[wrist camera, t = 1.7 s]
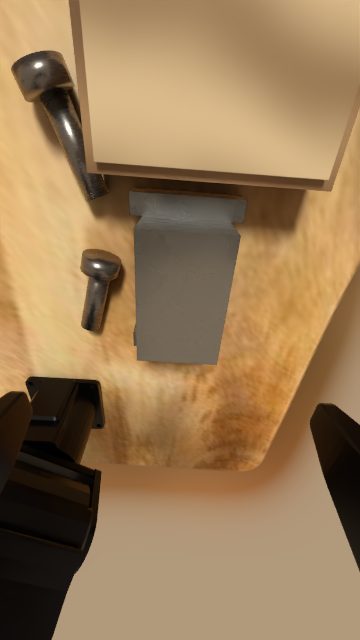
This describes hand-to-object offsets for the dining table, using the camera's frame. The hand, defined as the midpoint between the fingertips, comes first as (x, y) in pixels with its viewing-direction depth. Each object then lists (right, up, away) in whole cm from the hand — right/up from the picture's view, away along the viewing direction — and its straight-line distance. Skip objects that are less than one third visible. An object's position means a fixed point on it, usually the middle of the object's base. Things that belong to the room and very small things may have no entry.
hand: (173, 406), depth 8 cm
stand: (+2, +15, +5) cm, 16 cm away
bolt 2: (-6, +5, +11) cm, 14 cm away
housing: (0, +6, +10) cm, 12 cm away
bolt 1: (-5, +12, +7) cm, 15 cm away
